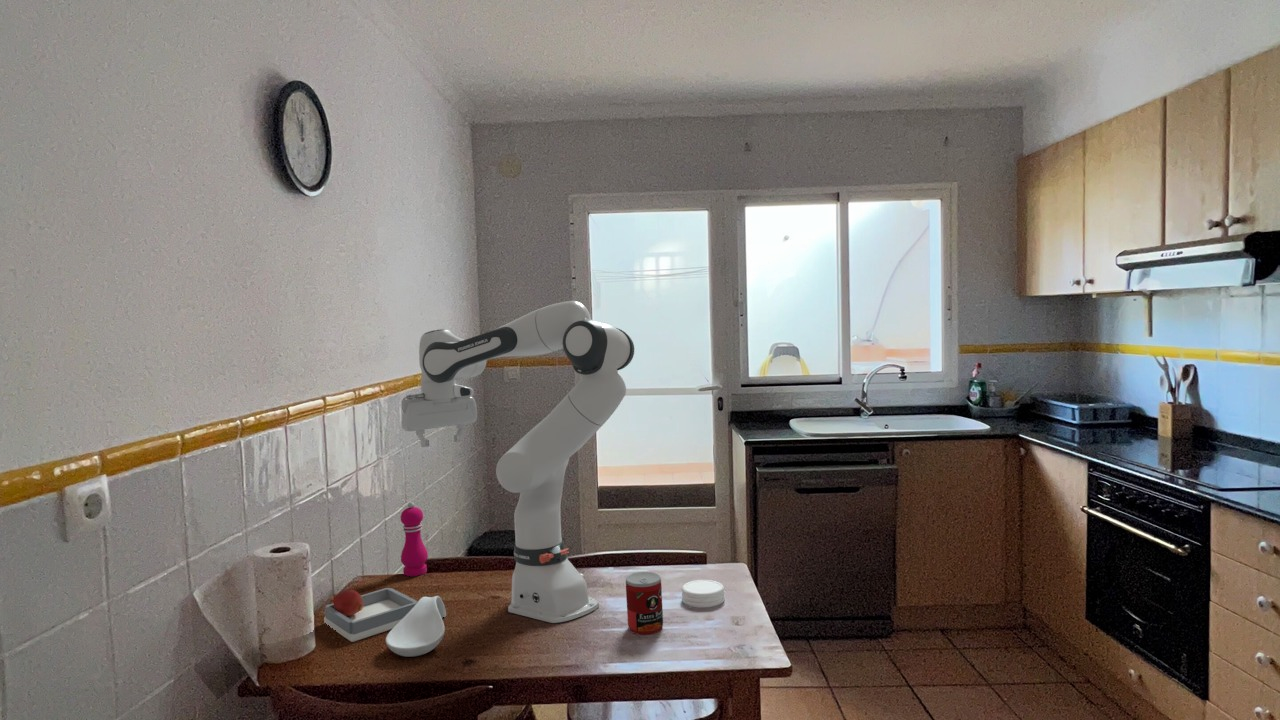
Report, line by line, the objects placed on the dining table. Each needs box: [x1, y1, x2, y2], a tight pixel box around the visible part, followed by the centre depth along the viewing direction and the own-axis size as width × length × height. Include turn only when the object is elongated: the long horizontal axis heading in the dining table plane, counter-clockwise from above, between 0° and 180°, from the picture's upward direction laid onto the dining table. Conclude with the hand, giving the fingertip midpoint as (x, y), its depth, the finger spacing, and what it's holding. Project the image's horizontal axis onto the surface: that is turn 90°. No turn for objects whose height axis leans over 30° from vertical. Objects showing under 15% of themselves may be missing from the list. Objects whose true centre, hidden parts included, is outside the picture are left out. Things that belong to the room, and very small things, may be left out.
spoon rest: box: [385, 595, 447, 658], centre depth 156 cm, size 24×12×7 cm, turn 4°
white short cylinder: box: [681, 579, 726, 609], centre depth 170 cm, size 10×10×4 cm
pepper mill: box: [400, 501, 429, 577], centre depth 201 cm, size 7×7×20 cm
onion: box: [329, 589, 363, 617], centre depth 167 cm, size 6×6×8 cm
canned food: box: [625, 571, 664, 636], centre depth 156 cm, size 8×8×11 cm
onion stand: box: [323, 587, 419, 643], centre depth 167 cm, size 16×16×4 cm
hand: (441, 444), depth 190 cm, fingers open, 8 cm apart
